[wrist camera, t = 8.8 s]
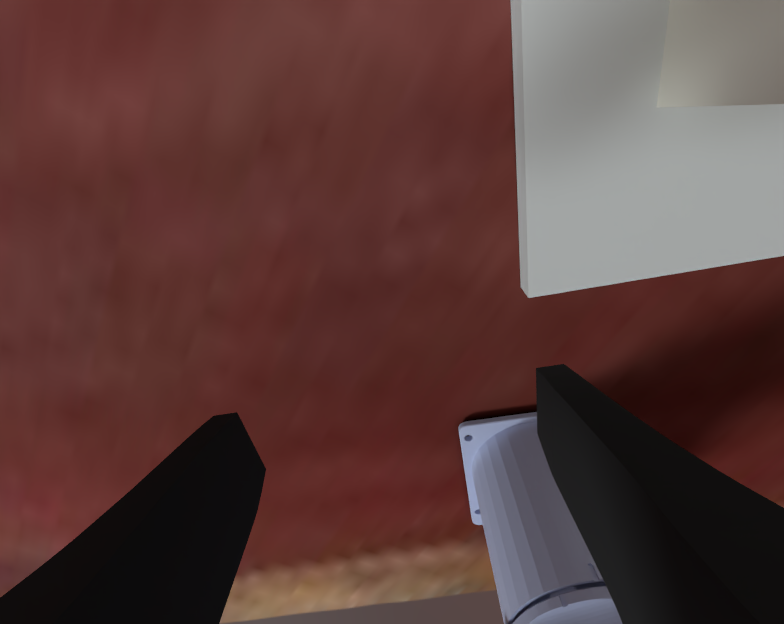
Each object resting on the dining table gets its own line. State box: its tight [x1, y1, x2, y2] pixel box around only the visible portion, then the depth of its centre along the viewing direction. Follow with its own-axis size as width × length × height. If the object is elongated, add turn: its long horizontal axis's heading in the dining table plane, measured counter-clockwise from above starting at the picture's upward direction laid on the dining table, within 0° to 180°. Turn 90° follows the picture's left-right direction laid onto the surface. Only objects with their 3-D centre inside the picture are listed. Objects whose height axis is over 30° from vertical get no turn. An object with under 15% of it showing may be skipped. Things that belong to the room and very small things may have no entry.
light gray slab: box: [511, 0, 784, 298], centre depth 11 cm, size 18×14×6 cm
